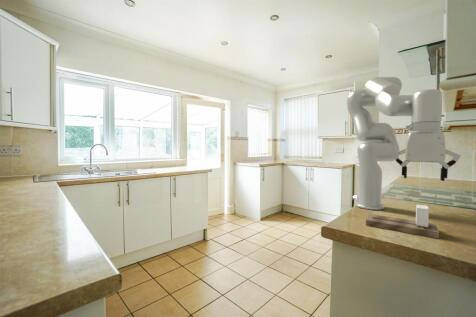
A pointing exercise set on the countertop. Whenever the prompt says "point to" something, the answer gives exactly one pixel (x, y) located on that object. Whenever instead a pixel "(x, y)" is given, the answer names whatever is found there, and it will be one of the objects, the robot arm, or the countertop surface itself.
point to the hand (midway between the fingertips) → (423, 179)
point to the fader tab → (422, 215)
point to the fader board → (402, 225)
